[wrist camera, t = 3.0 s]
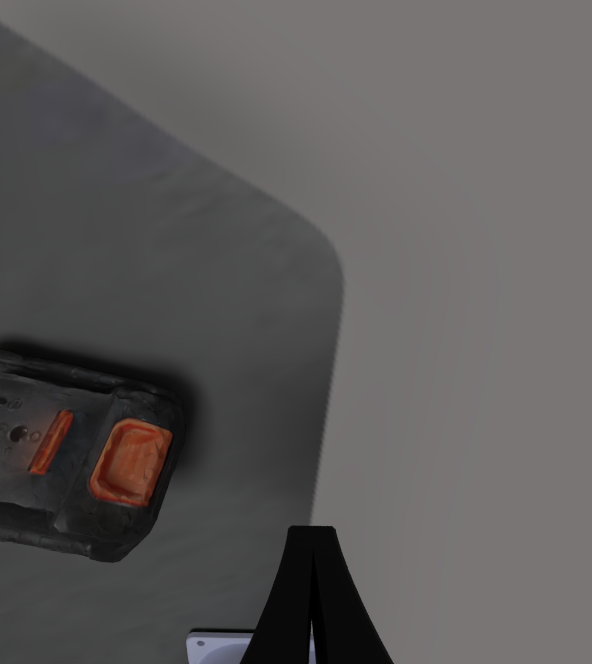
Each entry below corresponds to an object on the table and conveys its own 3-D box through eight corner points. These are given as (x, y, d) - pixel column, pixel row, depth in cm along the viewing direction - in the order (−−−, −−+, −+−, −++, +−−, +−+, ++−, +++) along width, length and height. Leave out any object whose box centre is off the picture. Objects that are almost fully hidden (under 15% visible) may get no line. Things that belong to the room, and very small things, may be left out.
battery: (207, 431, 22) (199, 378, 16) (137, 592, 17) (90, 596, 11) (27, 373, 22) (-43, 301, 16) (-93, 514, 17) (-250, 480, 12)
